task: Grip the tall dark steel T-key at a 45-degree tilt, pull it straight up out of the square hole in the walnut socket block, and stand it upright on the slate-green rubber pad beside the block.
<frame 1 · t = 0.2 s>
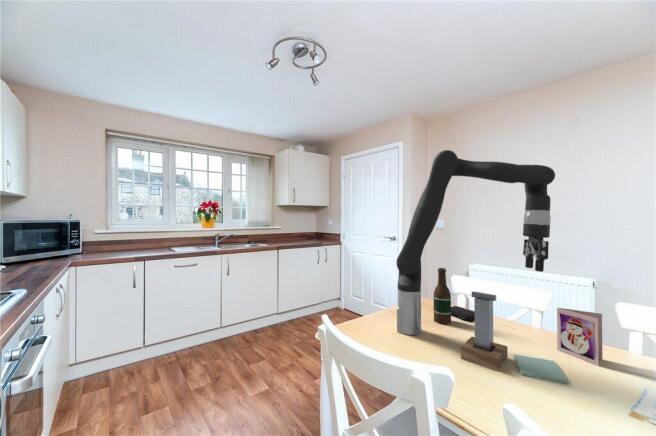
hand: (533, 269, 96), 28 cm above the table, tool pointing down, fingers open, 8 cm apart
carrying case or bag: (461, 317, 131), on the table
t key: (483, 326, 91), in the socket block
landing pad: (538, 368, 85), on the table
greeting card: (582, 356, 92), on the table
beer bottle: (442, 321, 124), on the table
socket block: (484, 358, 91), on the table
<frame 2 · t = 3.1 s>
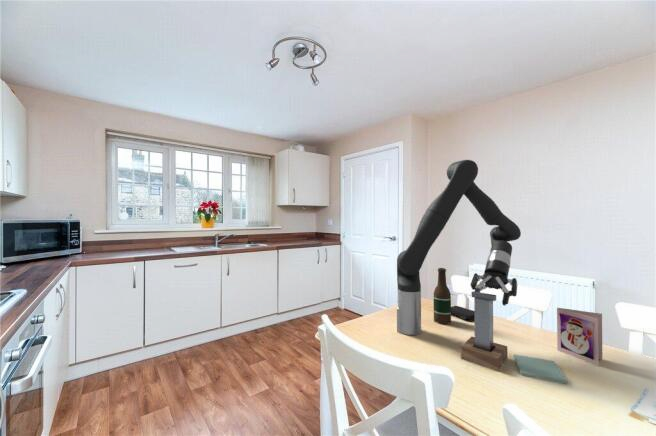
hand: (489, 301, 96), 17 cm above the table, tool tilted 45°, fingers open, 8 cm apart
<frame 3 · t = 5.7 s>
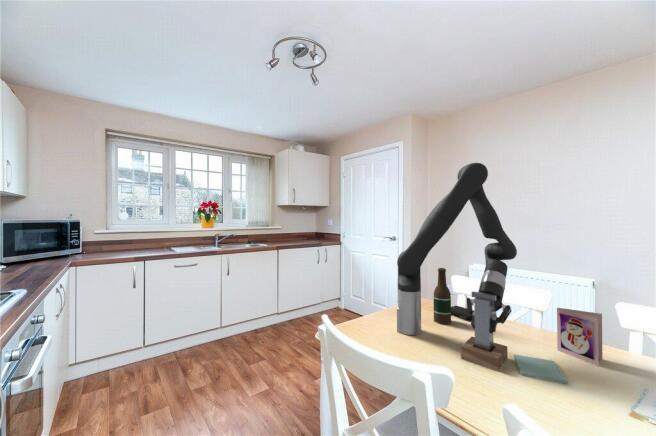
hand: (482, 329, 90), 10 cm above the table, tool tilted 45°, fingers closed on t key, 4 cm apart
t key: (483, 326, 91), in the socket block, touching gripper
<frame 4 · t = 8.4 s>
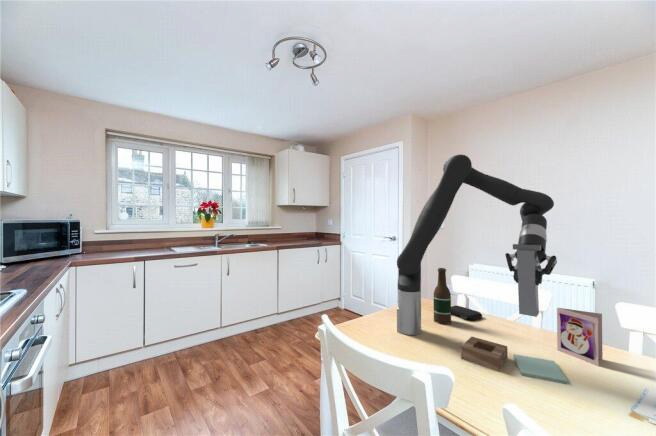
hand: (526, 282, 85), 27 cm above the table, tool tilted 45°, fingers closed on t key, 4 cm apart
t key: (527, 279, 86), point 28 cm above the table, touching gripper
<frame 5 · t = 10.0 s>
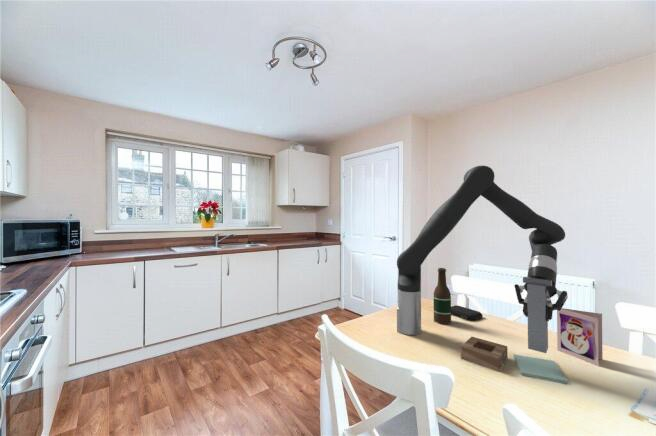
hand: (536, 317, 83), 16 cm above the table, tool tilted 45°, fingers closed on t key, 4 cm apart
t key: (537, 313, 85), point 17 cm above the table, touching gripper
when the fingers open (12 cm above the table, at t = 11.3 s): t key stays where it is, resting on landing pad.
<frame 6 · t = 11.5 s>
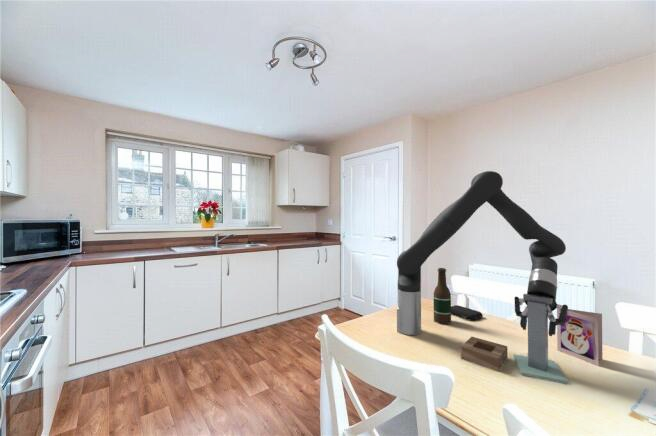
hand: (536, 331, 83), 12 cm above the table, tool tilted 45°, fingers open, 6 cm apart
t key: (537, 331, 85), on the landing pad, point 12 cm above the table
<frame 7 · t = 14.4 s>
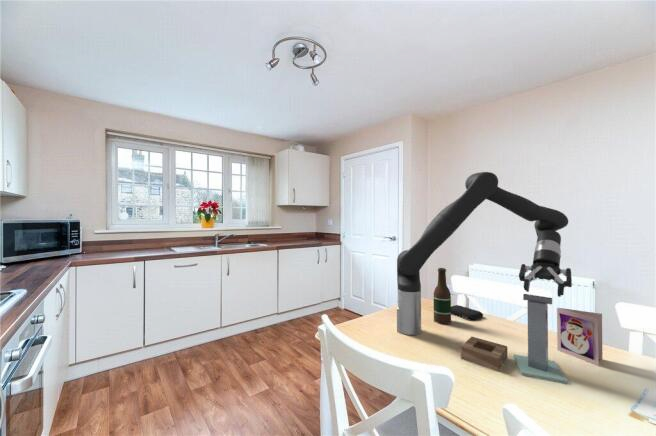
hand: (542, 292, 92), 21 cm above the table, tool tilted 45°, fingers open, 8 cm apart
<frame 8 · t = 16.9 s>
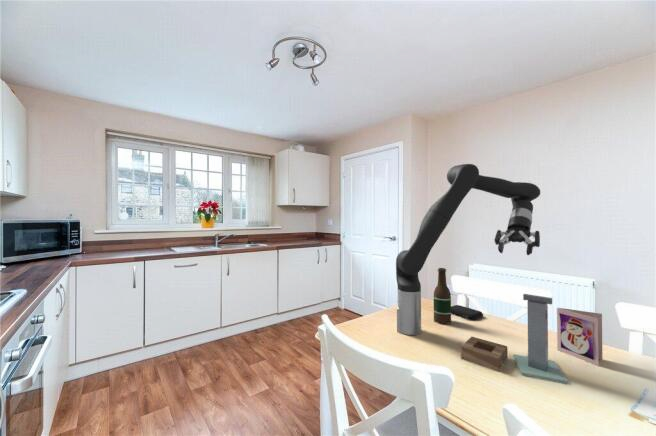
hand: (514, 252, 103), 34 cm above the table, tool tilted 45°, fingers open, 8 cm apart
at the end: t key inside the target area on the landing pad (0.1 cm from its centre), point 11.6 cm above the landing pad's base; t key tilted 0°; the gripper is holding nothing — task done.
